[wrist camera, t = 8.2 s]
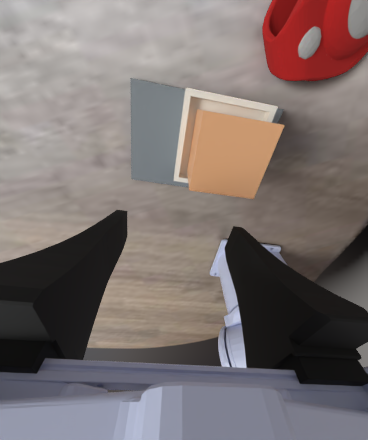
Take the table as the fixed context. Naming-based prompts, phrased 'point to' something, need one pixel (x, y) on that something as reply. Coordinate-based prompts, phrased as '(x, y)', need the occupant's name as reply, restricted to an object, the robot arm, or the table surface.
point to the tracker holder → (315, 37)
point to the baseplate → (157, 131)
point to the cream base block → (218, 105)
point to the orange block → (230, 153)
